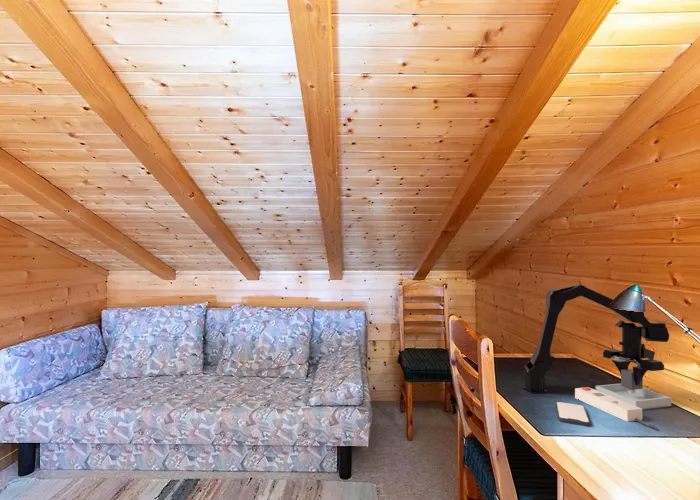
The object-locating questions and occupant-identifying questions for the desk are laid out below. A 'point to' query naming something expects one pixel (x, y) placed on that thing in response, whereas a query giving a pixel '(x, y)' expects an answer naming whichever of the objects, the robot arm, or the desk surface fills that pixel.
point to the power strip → (611, 405)
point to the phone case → (572, 414)
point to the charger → (630, 381)
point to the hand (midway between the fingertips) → (631, 383)
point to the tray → (636, 396)
